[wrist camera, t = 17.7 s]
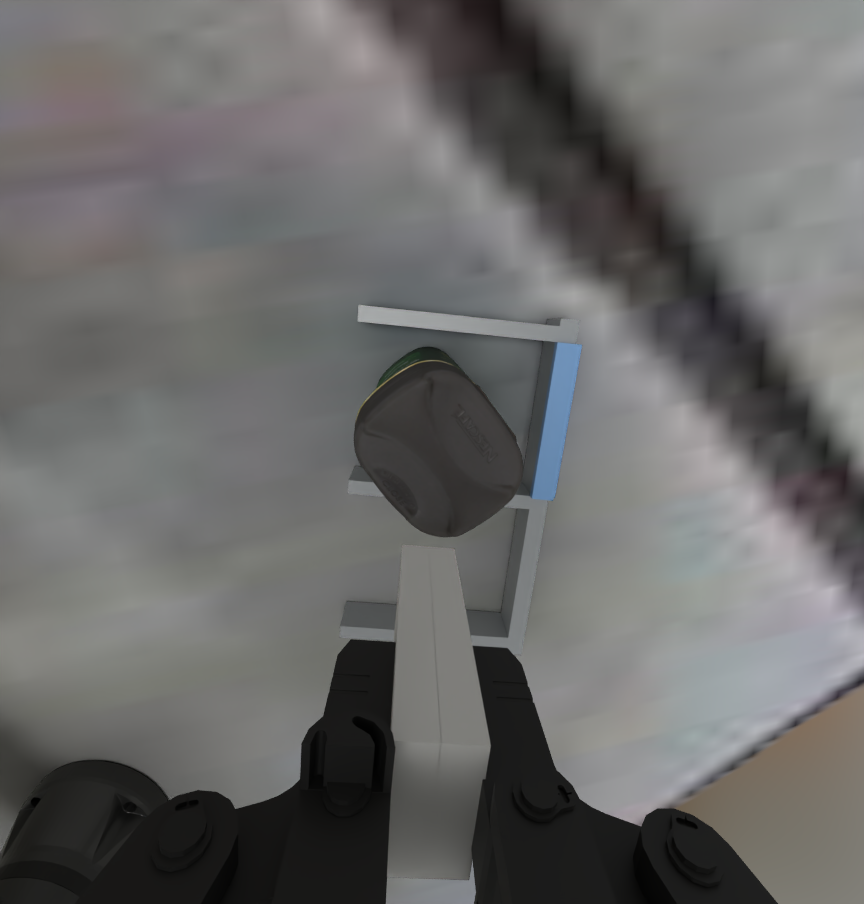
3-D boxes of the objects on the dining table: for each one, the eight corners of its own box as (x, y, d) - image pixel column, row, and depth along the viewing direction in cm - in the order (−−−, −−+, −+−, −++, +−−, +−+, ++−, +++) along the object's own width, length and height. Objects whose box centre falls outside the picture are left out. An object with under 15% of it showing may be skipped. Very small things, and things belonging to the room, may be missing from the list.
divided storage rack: (345, 616, 46) (337, 648, 42) (365, 299, 39) (357, 295, 34) (517, 629, 47) (528, 661, 43) (570, 321, 40) (589, 320, 35)
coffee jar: (361, 388, 41) (316, 435, 23) (433, 331, 40) (445, 334, 22) (429, 471, 43) (436, 574, 25) (498, 420, 42) (558, 488, 24)
